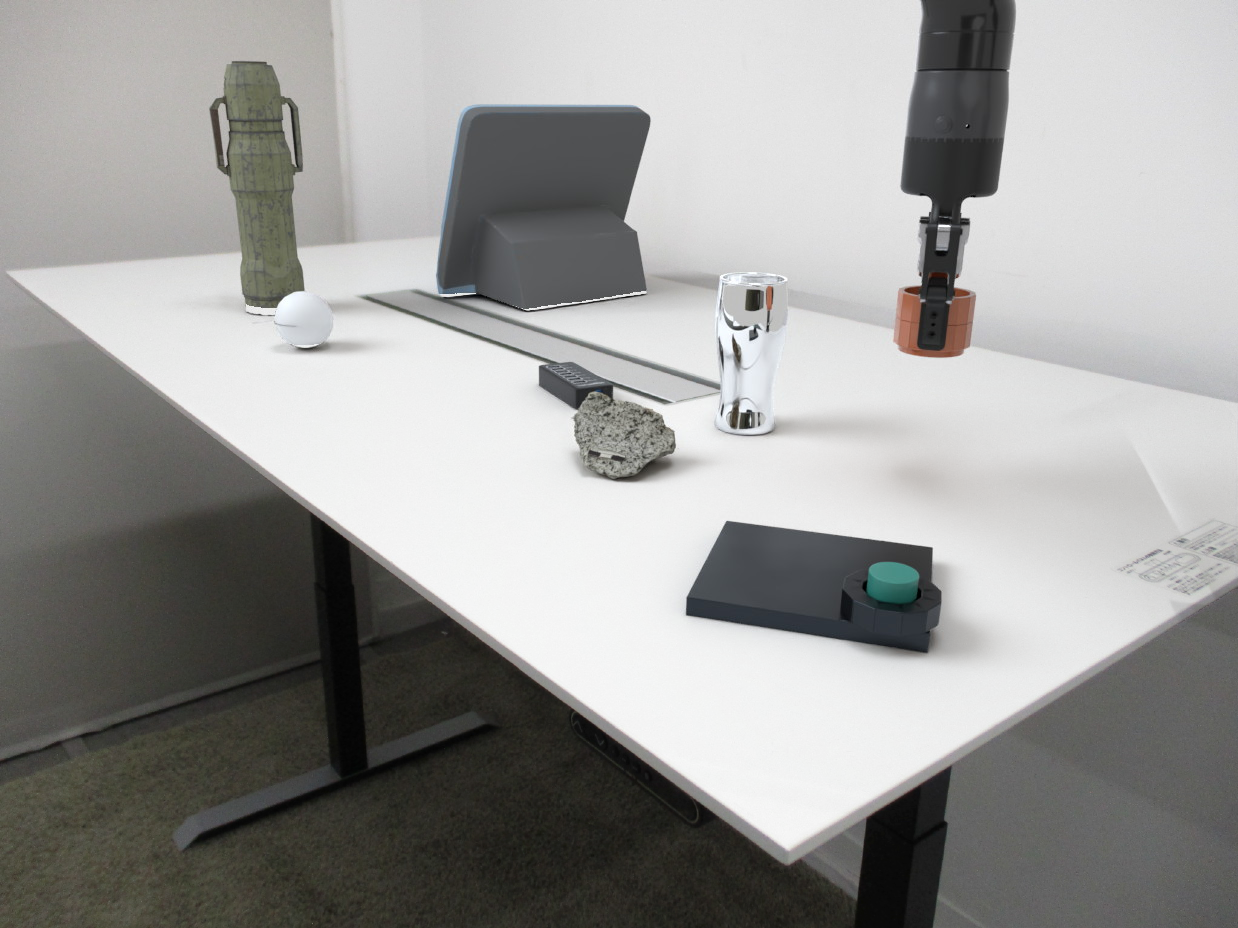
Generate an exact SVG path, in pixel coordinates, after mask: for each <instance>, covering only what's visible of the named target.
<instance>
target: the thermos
mask: <svg viewBox="0 0 1238 928" xmlns="http://www.w3.org/2000/svg"><path fill="white" fill-rule="evenodd" d="M274 69H275V68H274V67H273V65H272V64H268V62H267V61H252V60H231V63H229V64H228V63H227V64H226V65H225V71H224V76H223V79H224V81H223V82H224V83H223V89H222V90H223V95H222V97H216V98H214V100H213V102H212V103H211V105H210V106H209V107H208V112H209V117H210V123H211V124H210V125H211V130H212V136H213V137H212V138H213V145H214V153H215V162H216V163H215V164H216V168H217V170H219V171H220V172H221V173H222V174H224V175H225V176H227V177H228V179H229V187H230V191H231V193H232V194H233V196H234V202H235V207H236V208H235V209H236V217H237V225H238V234H239V243H240V252H241V263H240V267H239V269H240V270H239V276H240V285H241V294H242V295H243V297H244V304H245V303H246V304H247V305H249V306H254V307H261V308H277V306H278V304H279V303H280V302H281V301H282V299H283V298H284V297H286V296H288V295H290V294H291V293H293V292H299V291H306V290H305V279H304V270H303V265H302V264H301V262H300V259H299V256H298V246H297V235H296V225H295V215H294V214H295V213H294V206H293V205H294V204H293V194H294V191H295V181H294V176H296V173H302V172H303V171H304V159H303V157H304V156H303V147H302V136H301V125H300V115H299V114H300V113H299V107H298V106H297V104H296V103H295V102H294V100H293V99H292V98H291V97H285V96H284V95H282V93H281V92H282V91H281V85H280V82H279V79H278V76H277V74H276V71H275V70H274ZM221 104H223V105H224V106H225V113H226V120H227V121H228V127H229V130H228V132H227V133H228V143H227V149H226V154H225V155H226V161H227V165H226V164H225V156H224V149H223V141H222V133H221V125H220V124H221V123H220V115H219V108H220V105H221ZM286 104H287V105H288V107H289V112H290V121H291V133H292V141H293V152H294V163H295V164H294V163H293V161H292V160H293V159H292V151H291V149H290V147H289V145H288V142H287V140H286V134H285V133H286V132H285V130H283V129H284V128H283V121H284V113H283V112H284V111H283V106H284V105H286Z"/></svg>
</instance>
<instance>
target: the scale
mask: <svg viewBox="0 0 1238 928" xmlns="http://www.w3.org/2000/svg"><path fill="white" fill-rule="evenodd" d="M933 555H934V548H933V547H932V546H926V545H918V544H911V543H910V544H909V543H902V542H895V541H888V540H880V539H871V538H864V537H856V536H847V535H842V534H841V535H840V534H833V533H825V532H819V531H810V530H802V529H795V528H788V527H787V528H786V527H780V526H771V525H765V524H756V523H747V522H741V521H733V520H732V521H731V520H726V521H725V522H724V525H723V527H722V528H721V529H720V532H719V534H718V536H717V537H716V540H715V542H714V544H713V546H712V547H711V549H710V551H709V554H708V556H707V557H706V559H705V561H704V563H703V565H702V567H701V569H700V571H699V572H698V575H697V576H696V578H695V580H694V582H693V584H692V586H691V588H690V590H689V592H688V593H687V596H686V598H685V599H686V601H685V616H688V617H693V618H694V617H695V618H700V619H705V620H706V619H707V620H713V621H720V622H727V623H733V624H738V625H744V626H745V625H746V626H751V627H758V628H765V629H770V630H778V631H783V632H790V633H796V634H803V635H807V636H808V635H809V636H814V637H815V636H817V637H822V638H828V639H833V640H841V641H847V642H854V643H860V644H867V645H873V646H880V647H885V648H892V649H898V650H903V651H904V650H905V651H909V652H911V651H912V652H918V653H923V654H928V653H929V647H930V641H931V640H930V639H931V631H932V630H933V629H935V628H936V627H938V626H939V623H940V617H941V610H942V604H943V603H942V602H943V601H942V600H943V598H942V595H943V594H942V590H941V589H940V588H939V587H938V586H936V584H934V583H933V563H934V562H933V561H934V560H933V559H934V558H933V557H934V556H933ZM880 562H895V563H901V564H904V565H907V566H910V567H912V568H913V569H915V570H916V571H917V572H918V574H919V582H918V590H917V597H916V600H915V601H914V602H912V603H902V604H897V603H890V602H884V601H880V600H877V599H875V598H872V597H870V596H869V595H868V594H867V582H868V573H869V568H870V567H871V566H872V565H873V564H876V563H880Z"/></svg>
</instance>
